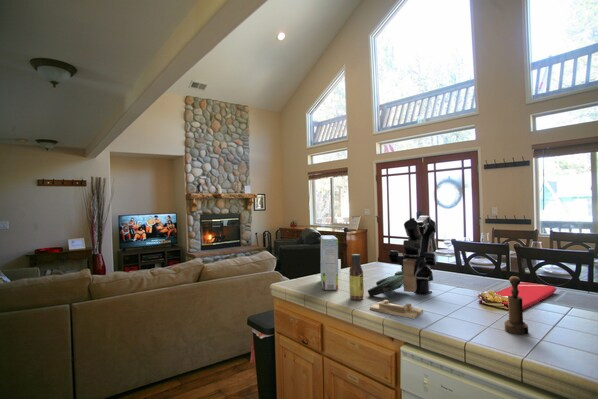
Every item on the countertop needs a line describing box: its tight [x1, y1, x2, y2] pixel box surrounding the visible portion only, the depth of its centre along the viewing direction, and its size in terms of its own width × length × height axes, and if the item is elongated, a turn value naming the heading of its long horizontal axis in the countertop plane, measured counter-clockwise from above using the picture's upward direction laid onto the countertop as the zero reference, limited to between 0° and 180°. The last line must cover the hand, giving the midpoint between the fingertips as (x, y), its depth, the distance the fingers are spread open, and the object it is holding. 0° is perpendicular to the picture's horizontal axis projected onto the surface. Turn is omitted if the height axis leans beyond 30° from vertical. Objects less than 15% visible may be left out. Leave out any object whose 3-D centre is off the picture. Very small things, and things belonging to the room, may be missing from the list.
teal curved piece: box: [367, 270, 404, 298], centre depth 155 cm, size 20×6×20 cm
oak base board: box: [369, 299, 424, 319], centre depth 132 cm, size 10×18×3 cm, turn 52°
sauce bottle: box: [348, 253, 365, 301], centre depth 150 cm, size 7×6×20 cm
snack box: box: [320, 234, 339, 291], centre depth 175 cm, size 22×9×26 cm, turn 179°
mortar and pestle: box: [504, 275, 529, 336], centre depth 109 cm, size 7×6×18 cm
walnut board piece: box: [403, 259, 417, 293], centre depth 136 cm, size 5×4×12 cm
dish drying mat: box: [478, 282, 557, 310], centre depth 145 cm, size 16×41×4 cm, turn 126°
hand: (408, 274), depth 135 cm, fingers closed on walnut board piece, 4 cm apart
